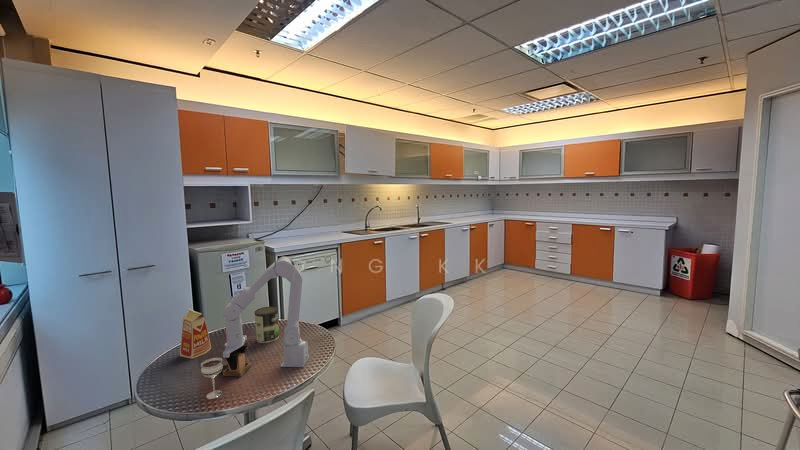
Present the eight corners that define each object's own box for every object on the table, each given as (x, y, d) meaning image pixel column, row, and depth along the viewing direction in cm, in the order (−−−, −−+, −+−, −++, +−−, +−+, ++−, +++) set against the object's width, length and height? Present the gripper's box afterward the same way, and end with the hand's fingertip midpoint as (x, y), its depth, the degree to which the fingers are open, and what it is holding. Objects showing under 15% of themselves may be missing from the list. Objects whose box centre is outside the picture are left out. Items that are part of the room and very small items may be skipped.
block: (245, 368, 135) (244, 353, 135) (240, 374, 131) (239, 358, 130) (234, 368, 135) (233, 353, 135) (229, 374, 131) (227, 358, 130)
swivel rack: (215, 364, 138) (215, 358, 137) (251, 366, 137) (250, 359, 136) (204, 375, 130) (203, 368, 130) (241, 376, 129) (240, 369, 129)
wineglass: (228, 387, 122) (225, 356, 121) (220, 399, 116) (218, 366, 114) (208, 389, 122) (205, 358, 120) (199, 401, 115) (196, 368, 113)
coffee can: (282, 333, 167) (280, 306, 165) (274, 343, 157) (272, 314, 155) (261, 333, 167) (260, 306, 165) (252, 343, 157) (250, 314, 155)
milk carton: (179, 355, 146) (175, 311, 144) (199, 346, 155) (195, 304, 152) (194, 359, 143) (190, 314, 140) (213, 349, 151) (209, 307, 149)
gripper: (234, 325, 139) (236, 356, 140) (213, 341, 124) (216, 376, 126) (250, 325, 138) (253, 356, 140) (232, 341, 124) (235, 376, 126)
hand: (237, 365), depth 133 cm, fingers closed on block, 4 cm apart
